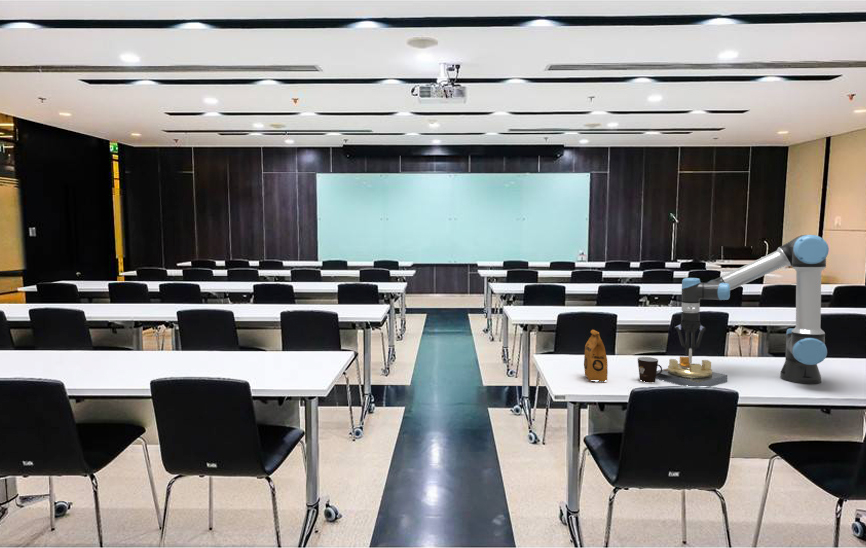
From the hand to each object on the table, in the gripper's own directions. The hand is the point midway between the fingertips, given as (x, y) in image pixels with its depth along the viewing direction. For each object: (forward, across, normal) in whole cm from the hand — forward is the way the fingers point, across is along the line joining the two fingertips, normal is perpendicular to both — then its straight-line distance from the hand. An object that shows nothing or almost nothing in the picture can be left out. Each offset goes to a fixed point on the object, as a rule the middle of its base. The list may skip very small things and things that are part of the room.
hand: (690, 362), depth 248 cm
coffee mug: (+6, -18, -16) cm, 25 cm away
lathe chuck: (+3, -1, -7) cm, 8 cm away
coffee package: (+6, -41, -18) cm, 45 cm away
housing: (+6, -1, -7) cm, 9 cm away
